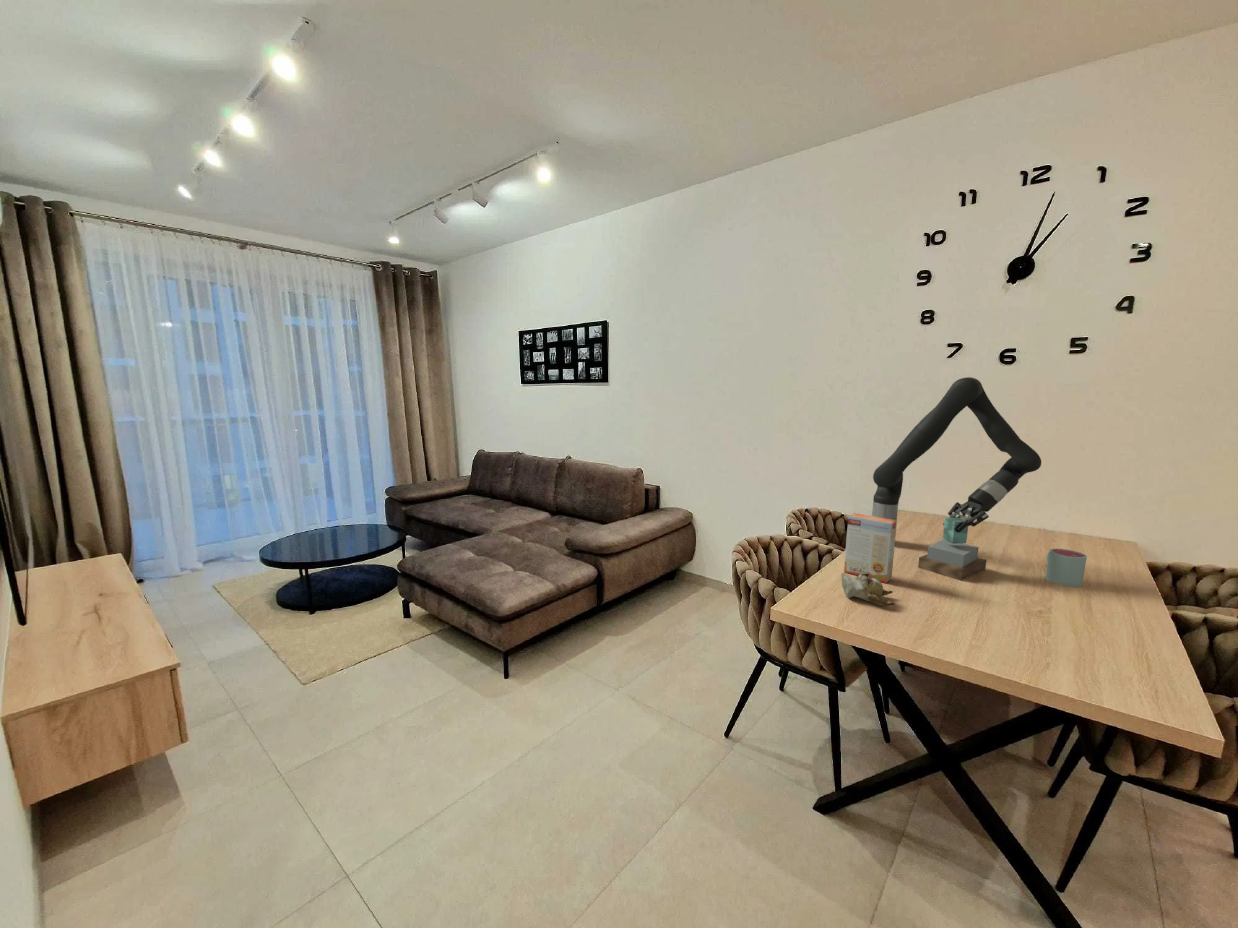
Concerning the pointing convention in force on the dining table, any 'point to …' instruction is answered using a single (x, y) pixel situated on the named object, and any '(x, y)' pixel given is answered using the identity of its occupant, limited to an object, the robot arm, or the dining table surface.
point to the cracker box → (870, 546)
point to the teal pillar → (951, 534)
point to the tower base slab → (952, 568)
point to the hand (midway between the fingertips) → (950, 528)
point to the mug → (1065, 567)
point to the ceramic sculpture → (865, 589)
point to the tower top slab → (952, 553)
